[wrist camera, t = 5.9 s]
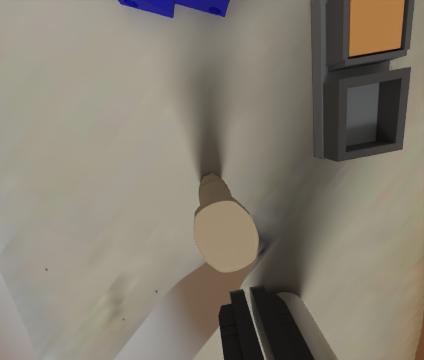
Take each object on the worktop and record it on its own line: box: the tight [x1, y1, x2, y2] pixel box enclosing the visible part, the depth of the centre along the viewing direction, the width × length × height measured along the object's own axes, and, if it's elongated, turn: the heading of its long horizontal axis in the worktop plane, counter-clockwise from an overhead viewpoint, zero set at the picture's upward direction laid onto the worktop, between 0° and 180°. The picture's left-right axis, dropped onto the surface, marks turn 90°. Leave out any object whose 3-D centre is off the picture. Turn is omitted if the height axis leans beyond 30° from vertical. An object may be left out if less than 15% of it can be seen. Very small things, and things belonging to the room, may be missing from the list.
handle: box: [194, 173, 259, 272], centre depth 23 cm, size 5×6×15 cm
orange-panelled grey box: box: [311, 0, 414, 162], centre depth 26 cm, size 20×9×5 cm, turn 10°
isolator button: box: [348, 0, 405, 59], centre depth 23 cm, size 6×6×2 cm
